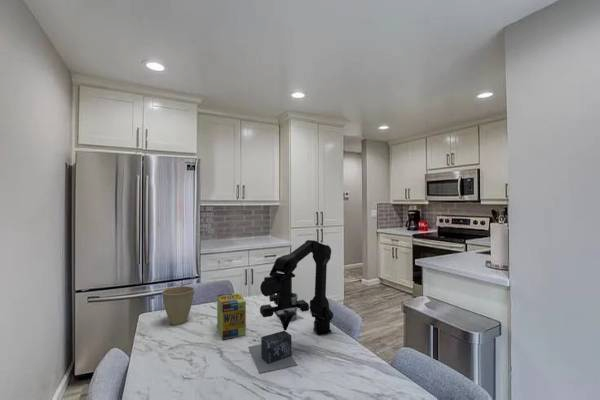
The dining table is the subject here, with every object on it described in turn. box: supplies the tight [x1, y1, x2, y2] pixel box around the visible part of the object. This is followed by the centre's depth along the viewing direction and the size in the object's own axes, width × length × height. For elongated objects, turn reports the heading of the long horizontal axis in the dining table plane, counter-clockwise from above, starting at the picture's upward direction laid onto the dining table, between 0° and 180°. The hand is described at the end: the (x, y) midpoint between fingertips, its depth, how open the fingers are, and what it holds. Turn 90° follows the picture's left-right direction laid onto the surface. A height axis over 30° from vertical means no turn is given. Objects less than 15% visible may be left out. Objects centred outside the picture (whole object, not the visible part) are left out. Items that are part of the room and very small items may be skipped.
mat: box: [247, 343, 298, 375], centre depth 111 cm, size 14×20×1 cm
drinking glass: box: [284, 292, 298, 323], centre depth 148 cm, size 10×10×12 cm
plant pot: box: [161, 285, 195, 326], centre depth 145 cm, size 15×15×16 cm
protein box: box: [216, 292, 247, 341], centre depth 133 cm, size 10×15×16 cm
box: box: [260, 330, 293, 364], centre depth 110 cm, size 8×6×11 cm
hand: (284, 329), depth 113 cm, fingers closed
